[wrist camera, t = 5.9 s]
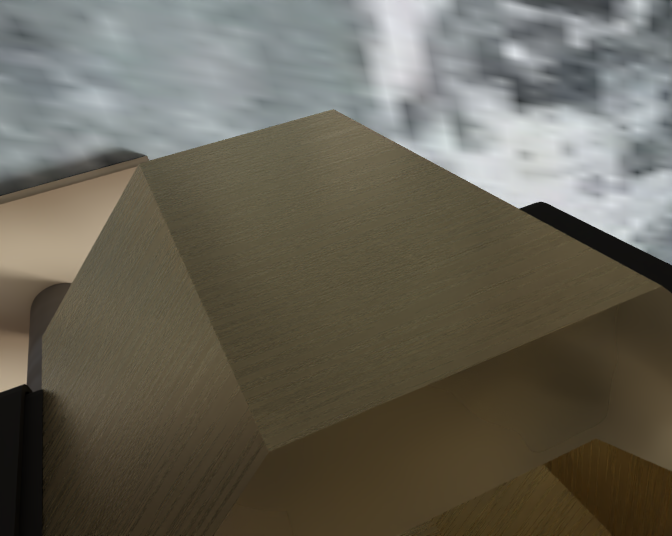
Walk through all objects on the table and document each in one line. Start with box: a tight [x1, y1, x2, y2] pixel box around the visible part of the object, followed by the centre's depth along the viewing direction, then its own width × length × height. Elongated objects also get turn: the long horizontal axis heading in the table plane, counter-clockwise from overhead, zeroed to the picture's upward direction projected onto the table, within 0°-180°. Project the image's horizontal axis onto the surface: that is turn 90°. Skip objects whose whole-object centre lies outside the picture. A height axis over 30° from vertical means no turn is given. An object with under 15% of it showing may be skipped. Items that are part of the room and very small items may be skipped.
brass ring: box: [42, 109, 672, 536], centre depth 8 cm, size 7×7×6 cm
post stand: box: [0, 156, 149, 392], centre depth 23 cm, size 10×10×8 cm
